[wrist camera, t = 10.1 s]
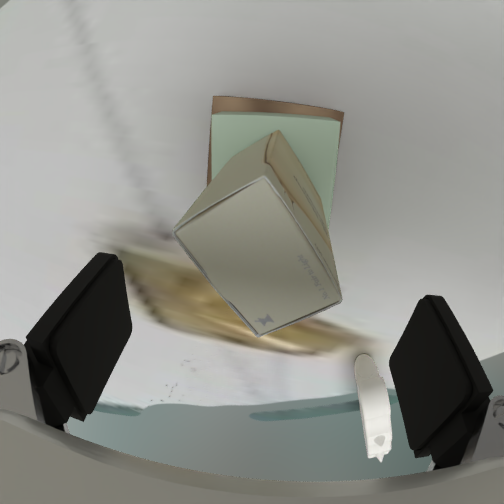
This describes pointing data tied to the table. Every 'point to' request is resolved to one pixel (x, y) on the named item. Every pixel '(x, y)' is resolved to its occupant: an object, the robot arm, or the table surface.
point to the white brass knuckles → (373, 407)
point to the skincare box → (263, 238)
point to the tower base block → (270, 107)
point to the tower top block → (296, 134)
